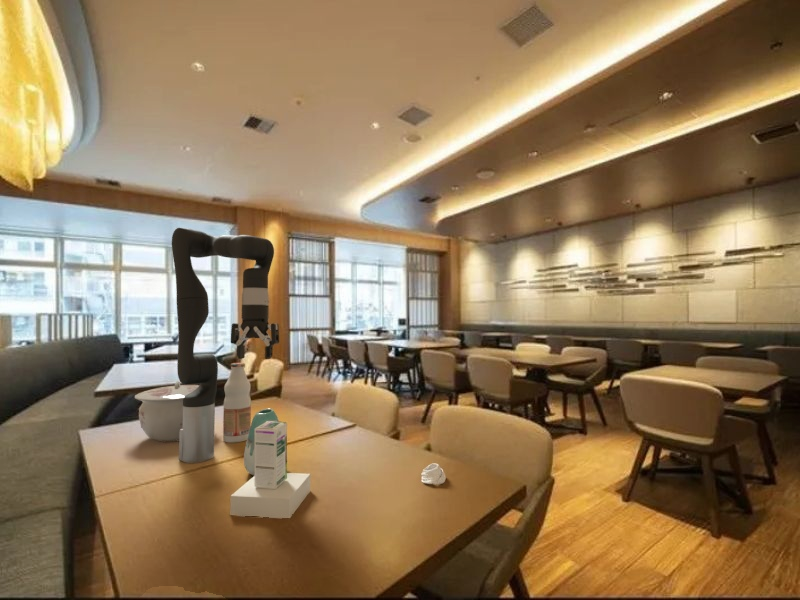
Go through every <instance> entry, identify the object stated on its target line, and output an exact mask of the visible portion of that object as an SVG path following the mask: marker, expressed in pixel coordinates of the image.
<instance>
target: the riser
mask: <svg viewBox="0 0 800 600" xmlns="http://www.w3.org/2000/svg"><path fill="white" fill-rule="evenodd" d="M310 493H311V473H297V472H296V473H295V472H287V479H286V480H285V481H284V482H283V483H282V484H281V485H279V486H278V487H277V489H265V488H258V487H255V476H254V475H253V477H251V478H250V479H249V480H247V482H245V483H243V485H242V486H240V487H239V488H238V489H237V490H236V491H234V492H233V493H232V494H231V495H230V510H229V511H230V515H238V516H237V517H245V516H260V517H259V518H263V517H269V518H268V519H282V518H290V519H291V517H292V516H293V515H294V513H295V512H296V511H297V510H298V508H299V507H300V506H301V504H302V502H303V501H304V500H305V499H306V498H307V496H308V495H309V494H310ZM292 514H293V515H292Z"/></svg>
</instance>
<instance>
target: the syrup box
mask: <svg viewBox="0 0 800 600" xmlns="http://www.w3.org/2000/svg"><path fill="white" fill-rule="evenodd" d="M287 426H288V423H287V422H286V421H280V420H279V421H266V422H265V423H264V424H262V425H260V426H258V427H256V428H255V429H254V463H255V474H254V475H255V487H258V488H265V489H277V487H278V486H279V485H281V484H282V483H283V482H284V481H285V480H286V479H287V473H288V440H287V439H288V437H287V436H288V430H287V429H288V427H287ZM254 475H253V476H254Z"/></svg>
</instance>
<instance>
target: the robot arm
mask: <svg viewBox="0 0 800 600" xmlns="http://www.w3.org/2000/svg"><path fill="white" fill-rule="evenodd" d="M171 250H172V258H173V265H174V273H175V284H176V313H177V314H176V316H177V328H178V330H177V331H178V339H177V340H178V343H177V364H176V365H177V368H176V369H177V377H178V380H179V382H180V384H181V385H198V384H199V387H198V388H197V389H196V390H194V391H193V392H191V393H189V394H188V395H186V396H185V397H184V398H183V427H182V429H181V430H180V431H179V440H178V441H179V443H178V461H180V462H181V461H182V462H183V463H187V464H196V463H201V462H207V461H209V460H212V459H213V458H214V456H215V415H216V414H215V411H216V410H215V407H216V406H215V405H216V395H217V388H218V385H217V384H218V377H219V376H218V374H219V365H218V364H219V363H218V359H217V358H216V356H215V355H214V354H213V353H201V354H195V353H194V348H195V342H196V338H197V336H198V334H199V332H200V331H201V329H202V327H203V325H204V324H205V323H206V321H207V319H208V316H209V310H210V309H209V295H208V292H207V290H206V288H205V286H204V285H203V283H202V282H201V280H200V279H199V277H198V275H197V274H196V273H195V270H194V266H193V264H192V259H191V258H196V259H197V258H209V257H213V256H214V257H215V256H217V257H218V256H219V257H222V258H229V259H243V260H249V261H255V263H254V266H253V267H248V268H246V269H244V270H243V273H242V293H241V323H232V324H231V329H230V330H231V331H230V344H232V345H233V344H234V345H236V356H237V358H238V359H239V360H240V359H241V360H242V359H244V358H245V355H246V353H245V351H246V350H245V349H246V346H245V344H246V343H247V341H248V340H249V339H260V340H261V341H263V343H264V344H265V347H264V348H265V349H264V351H265V352H264V358H265V360H271V359H272V357H273V354H274V353H273V350H274V348H273V347H274V345H275V346H276V345H277V344H279V343H280V328H279V323H275V322H274V323H270V322H269V318H270V317H269V314H270V313H269V312H270V311H269V307H270V306H269V303H270V301H269V299H270V297H269V296H270V295H269V273H270V270H271V268H272V264H273V260H274V255H275V248H274V244H273V243H272V241H271V240H270V239H267V238H264V237H259V236H254V235H248V234H240V235H233V234H231V235H230V234H223V235H220V236H214V235H212V234H209V233H206V232H204V231H202V230H197V229H192V228H189V227H177V228H176V229H174V231H173V233H172V237H171ZM241 330H242V333H241V335H240V331H241ZM268 330H269V331H270V334H269V333H268ZM270 335H271V336H270Z"/></svg>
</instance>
